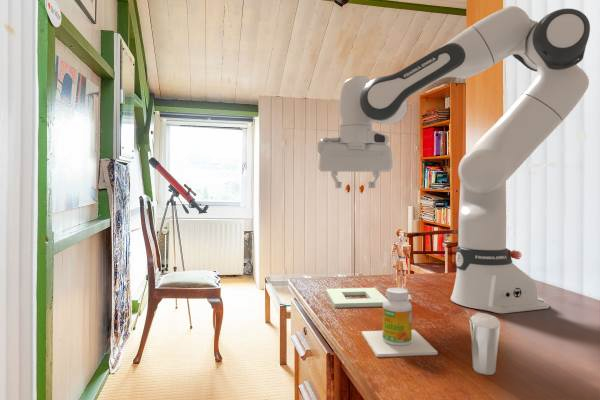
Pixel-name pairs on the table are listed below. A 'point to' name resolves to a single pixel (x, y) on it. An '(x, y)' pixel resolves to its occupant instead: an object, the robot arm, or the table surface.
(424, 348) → the mat
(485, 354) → the milkshake
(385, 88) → the robot arm
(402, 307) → the supplement bottle
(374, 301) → the well board
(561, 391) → the table surface
